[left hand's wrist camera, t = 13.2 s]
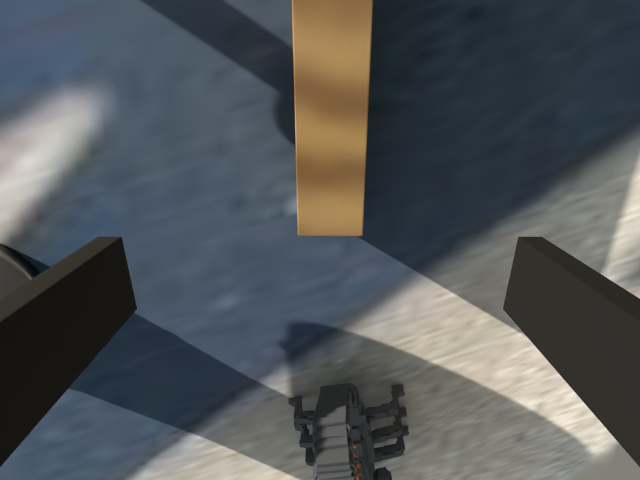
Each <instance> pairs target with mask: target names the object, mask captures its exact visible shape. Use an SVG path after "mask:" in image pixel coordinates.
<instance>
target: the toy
mask: <svg viewBox="0 0 640 480" xmlns="http://www.w3.org/2000/svg"><path fill="white" fill-rule="evenodd" d="M391 394H392V399H393V401H391V403H388V404H383V405H381V406H377V407H369V408H366V409H365V407H364V405H363V403H362V401H361V400H360V397H359V393H358V391H357V389H356V386H353V385H352V384H351V383H348V384H340V385H332V386H323V387H321V393H320V396H319V400H318V403H317V407H316V411H303V410H302V400H301V397H299V398H291V399H289V404H290V405H292V406H294V407H295V412H294V420H295V423H294V425H295V429H296V430H299V431H302V434H301V440H300V447H304V448H306V458H305V461H306V464H307V465H309V466H313V471H314V480H392V477H391V472H390V471H388V470H387V469H386V467H383V468H378V469H376V470H375V468H374V462H380V461H381V460H386V459H390V458H394V457H398V456H401V455H404V454H403V452H404V450H405V445H404V441H403V436H406V435H408V434H409V431H408V426H405V427H402V424H401V419H400V418H403V417H405V416H407V414H406V408H400V406H399V401H398V397H400V396H403V395H404V391H403V385H399V386H393V391H392V392H391ZM390 416H394V417H395V422H393V426H387V427H382V428H379V429H375V430H374V431H372V432H371V426H370V421H371V420H374V419H379V418H385V417H390ZM306 423H308V425H310V424H313V435H309V429H308V428H307V424H306ZM391 438H397V442H396V444H392V445H387V446H384V447H379V448H374V444H373V443H380V442H385V441H386V440H388V439H391ZM313 448H314V453H313Z"/></svg>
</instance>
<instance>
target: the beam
mask: <svg viewBox="0 0 640 480" xmlns="http://www.w3.org/2000/svg"><path fill="white" fill-rule="evenodd" d="M372 18H373V0H292V19H293V59H294V98H295V137H296V177H297V216H298V236H363V219H364V196H365V174H366V152H367V129H368V107H369V85H370V62H371V40H372Z"/></svg>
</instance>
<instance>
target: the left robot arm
mask: <svg viewBox="0 0 640 480" xmlns="http://www.w3.org/2000/svg"><path fill="white" fill-rule="evenodd" d="M136 309H137V307H136V302H135V298H134V293H133V288H132V284H131V279H130V274H129V270H128V265H127V260H126V256H125V251H124V246H123V242H122V237H97V238H96V239H94V240H93V241H91V242H90V243H88V244H86V245H85V246H83V247H82V248H80V249H78V250H77V251H75V252H74V253H72V254H71V255H69V256H67V257H66V258H64V259H63V260H61V261H59V262H58V263H56V264H55V265H53V266H52V267H50V268H48V269H47V270H45V271H44V272H42V273H40V274H39V275H38V273H37V272H36V271H35V270H34V269H33V268H32V267H31V266H30V265H29V264H28V263H27V262H26V261H24V260H23V259H22V258H21V257H19V256H18V255H17V254H15V253H14V252H12V251H10V250H9V249H7V248H5V247H3V246H2V245H0V467H1V465H2V464H3V463H4V462H5V461H6V460H7V459H8V457H9V456H10V455H11V454H12V453H13V452H14V450H15V449H16V448H17V447H18V446H19V445H20V443H21V442H22V441H23V440H24V439H25V438H26V437H27V435H28V434H29V433H30V432H31V431H32V430H33V428H34V427H35V426H36V425H37V424H38V423H39V421H40V420H41V419H42V418H43V417H44V416H45V415H46V413H47V412H48V411H49V410H50V409H51V408H52V406H53V405H54V404H55V403H56V402H57V401H58V399H59V398H60V397H61V396H62V395H63V394H64V393H65V391H66V390H67V389H68V388H69V387H70V386H71V384H72V383H73V382H74V381H75V380H76V379H77V377H78V376H79V375H80V374H81V373H82V372H83V371H84V369H85V368H86V367H87V366H88V365H89V364H90V362H91V361H92V360H93V359H94V358H95V357H96V355H97V354H98V353H99V352H100V351H101V350H102V349H103V347H104V346H105V345H106V344H107V343H108V342H109V340H110V339H111V338H112V337H113V336H114V335H115V334H116V332H117V331H118V330H119V329H120V328H121V327H122V325H123V324H124V323H125V322H126V321H127V320H128V318H129V317H130V316H131V315H132V314H133V313H134V312H135V310H136ZM503 309H504V310H505V312H506V313H507V314H508V315H509V316H510V317H511V318H512V320H513V321H514V322H515V323H516V324H517V325H518V327H519V328H520V329H521V330H522V331H523V332H524V334H525V335H526V336H527V337H528V338H529V339H530V340H531V342H532V343H533V344H534V345H535V346H536V347H537V349H538V350H539V351H540V352H541V353H542V354H543V355H544V357H545V358H546V359H547V360H548V361H549V362H550V364H551V365H552V366H553V367H554V368H555V369H556V371H557V372H558V373H559V374H560V375H561V376H562V377H563V379H564V380H565V381H566V382H567V383H568V384H569V386H570V387H571V388H572V389H573V390H574V391H575V393H576V394H577V395H578V396H579V397H580V398H581V399H582V401H583V402H584V403H585V404H586V405H587V406H588V408H589V409H590V410H591V411H592V412H593V413H594V415H595V416H596V417H597V418H598V419H599V420H600V421H601V423H602V424H603V425H604V426H605V427H606V428H607V430H608V431H609V432H610V433H611V434H612V435H613V437H614V438H615V439H616V440H617V441H618V442H619V443H620V445H621V446H622V447H623V448H624V449H625V450H626V452H627V453H628V454H629V455H630V456H631V457H632V458H633V460H634V461H635V462H636V463H637V464H638V465H639V467H640V299H639V298H638V297H636V296H634V295H633V294H631V293H630V292H628V291H626V290H625V289H623V288H622V287H620V286H619V285H617V284H615V283H614V282H612V281H611V280H609V279H607V278H606V277H604V276H603V275H601V274H600V273H598V272H596V271H595V270H593V269H592V268H590V267H588V266H587V265H585V264H584V263H582V262H581V261H579V260H577V259H576V258H574V257H573V256H571V255H569V254H568V253H566V252H565V251H563V250H562V249H560V248H558V247H557V246H555V245H554V244H552V243H550V242H549V241H547V240H546V239H544V238H543V237H518V242H517V246H516V251H515V256H514V260H513V265H512V270H511V274H510V279H509V284H508V288H507V293H506V298H505V302H504V307H503Z"/></svg>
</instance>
